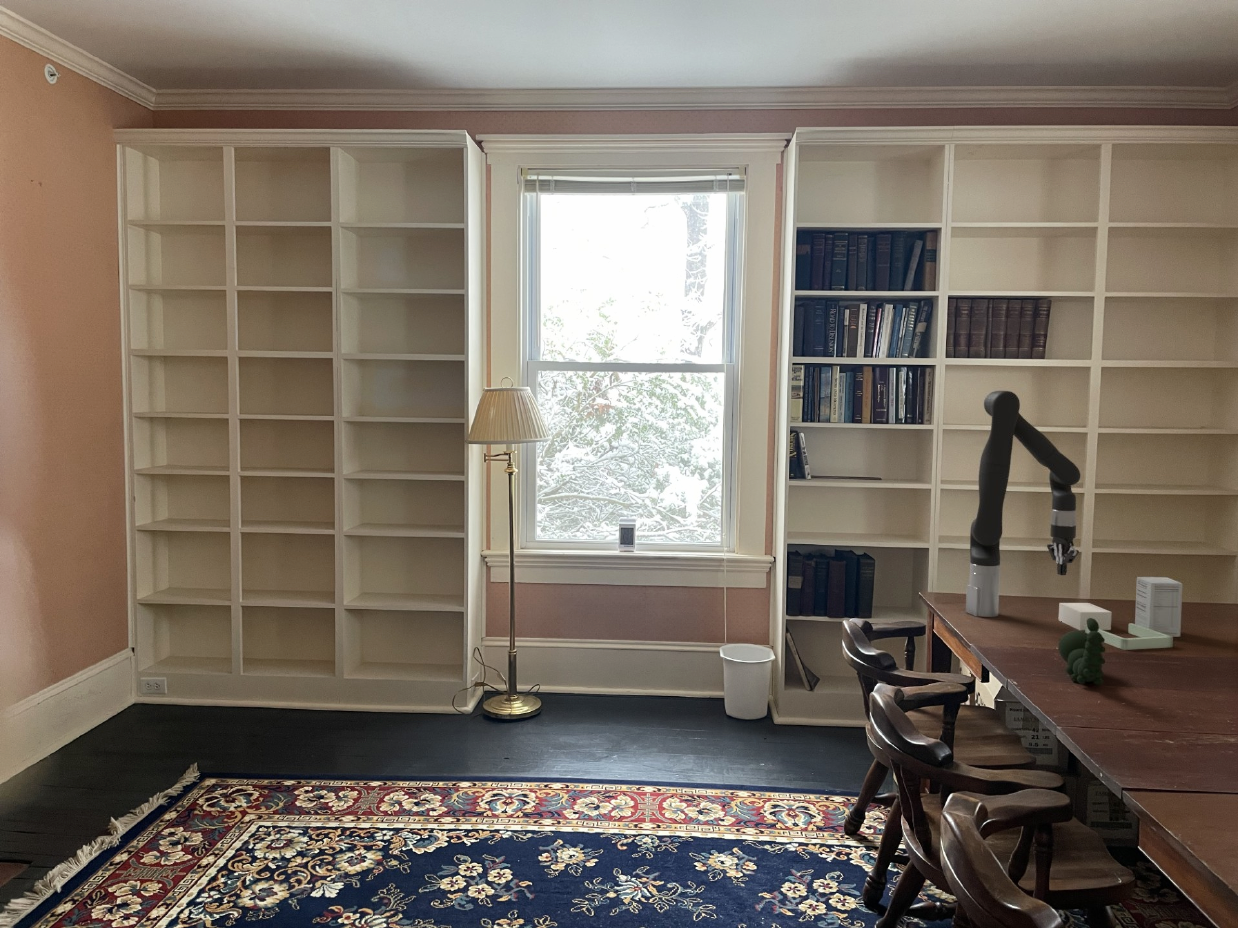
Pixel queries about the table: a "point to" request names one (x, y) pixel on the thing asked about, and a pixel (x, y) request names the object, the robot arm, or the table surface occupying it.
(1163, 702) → the table surface
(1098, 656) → the toy figurine
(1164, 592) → the supplement box
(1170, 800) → the table surface
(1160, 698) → the table surface
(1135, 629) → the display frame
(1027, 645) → the table surface
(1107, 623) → the carton
